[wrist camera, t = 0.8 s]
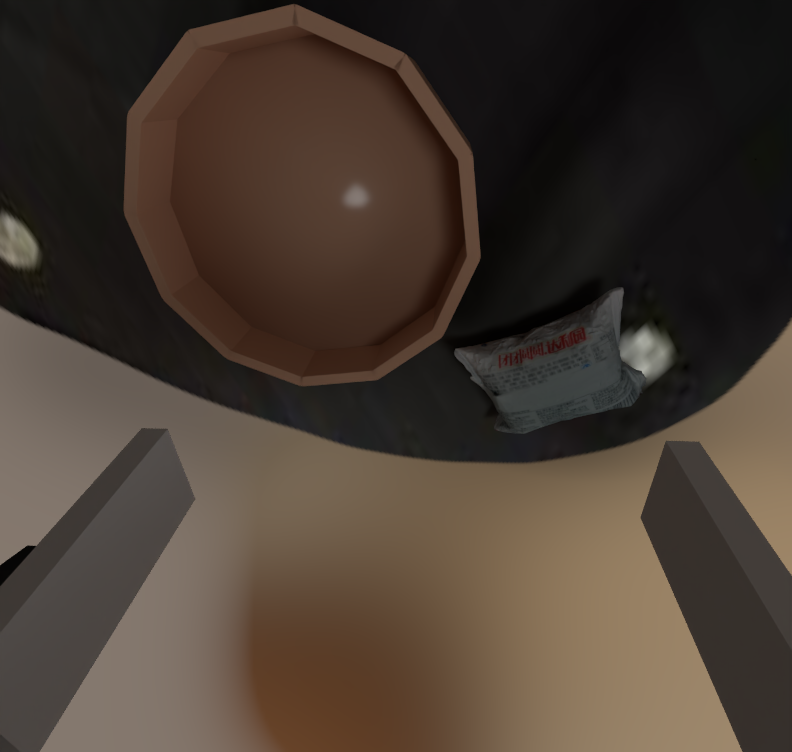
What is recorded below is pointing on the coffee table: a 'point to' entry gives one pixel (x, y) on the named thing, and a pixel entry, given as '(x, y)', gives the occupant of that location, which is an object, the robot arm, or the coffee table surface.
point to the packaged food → (557, 369)
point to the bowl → (301, 197)
